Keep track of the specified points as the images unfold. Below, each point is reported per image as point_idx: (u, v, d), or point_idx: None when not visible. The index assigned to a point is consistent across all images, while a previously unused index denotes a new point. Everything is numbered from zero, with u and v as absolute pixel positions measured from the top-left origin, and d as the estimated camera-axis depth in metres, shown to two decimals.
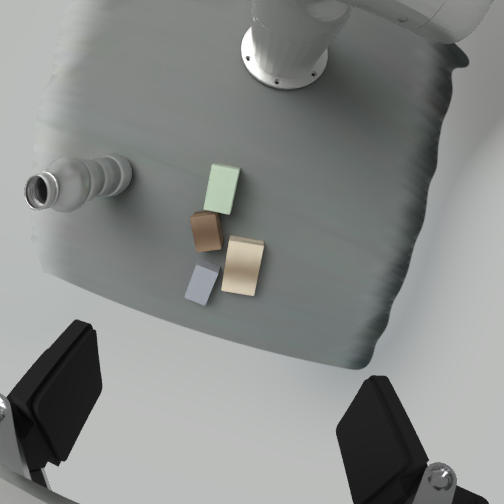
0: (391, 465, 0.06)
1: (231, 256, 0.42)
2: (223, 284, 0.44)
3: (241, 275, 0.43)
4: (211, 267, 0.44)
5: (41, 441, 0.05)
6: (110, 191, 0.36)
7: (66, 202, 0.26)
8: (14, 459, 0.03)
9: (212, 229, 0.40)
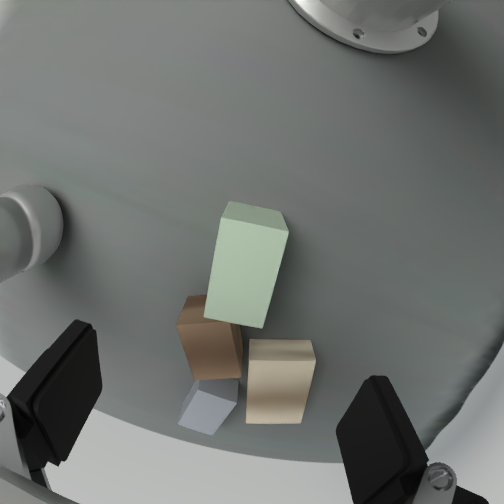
0: (391, 465, 0.06)
1: (257, 381, 0.21)
2: (248, 416, 0.23)
3: (278, 403, 0.22)
4: (224, 387, 0.23)
5: (41, 442, 0.05)
6: (16, 271, 0.15)
7: None
8: (14, 459, 0.03)
9: (224, 346, 0.19)
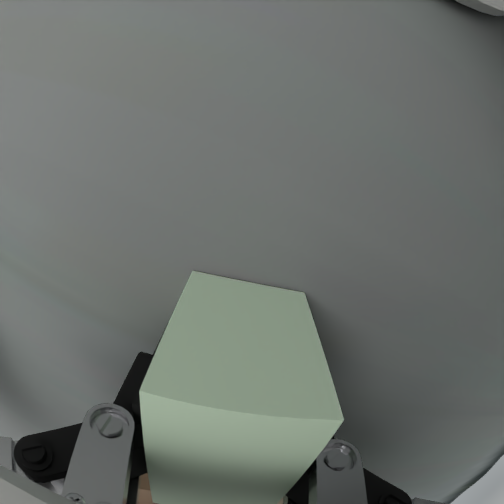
0: None
1: None
2: None
3: None
4: None
5: None
6: None
7: None
8: (117, 479, 0.04)
9: None
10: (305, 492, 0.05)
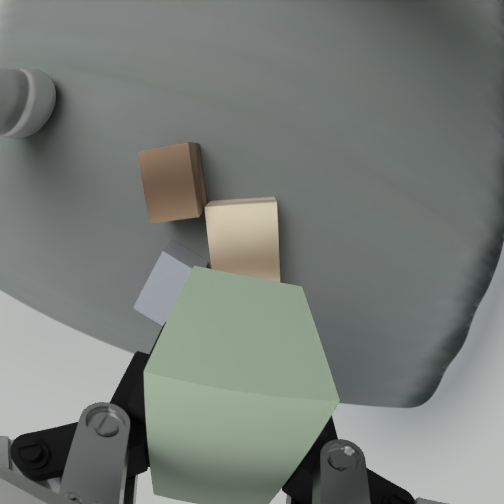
0: None
1: (217, 238, 0.21)
2: None
3: (247, 271, 0.22)
4: (192, 260, 0.23)
5: (144, 444, 0.06)
6: (7, 120, 0.14)
7: None
8: (113, 477, 0.04)
9: (182, 173, 0.18)
10: (309, 493, 0.05)
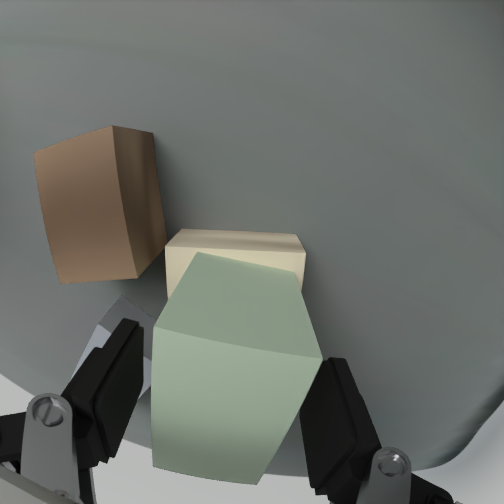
0: (340, 446, 0.06)
1: None
2: None
3: None
4: (149, 337, 0.13)
5: (94, 439, 0.06)
6: None
7: None
8: (65, 465, 0.04)
9: (102, 192, 0.08)
10: (357, 500, 0.05)
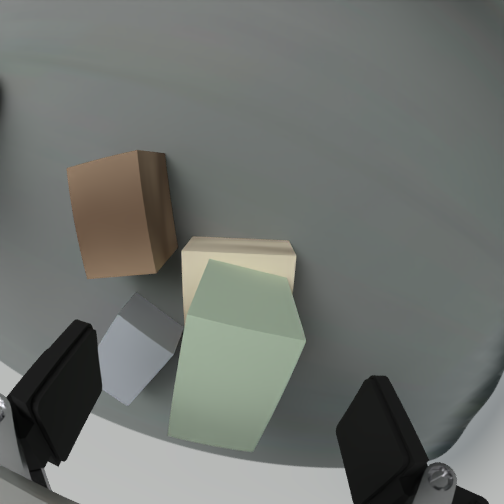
0: (391, 465, 0.06)
1: None
2: None
3: None
4: (160, 328, 0.15)
5: (41, 441, 0.05)
6: None
7: None
8: (14, 459, 0.03)
9: (128, 203, 0.11)
10: None
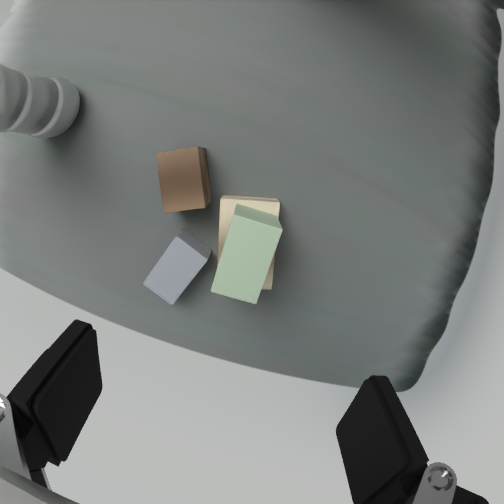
0: (391, 465, 0.06)
1: (227, 225, 0.25)
2: None
3: None
4: (199, 247, 0.27)
5: (41, 441, 0.05)
6: (40, 121, 0.18)
7: None
8: (14, 459, 0.03)
9: (192, 172, 0.22)
10: None
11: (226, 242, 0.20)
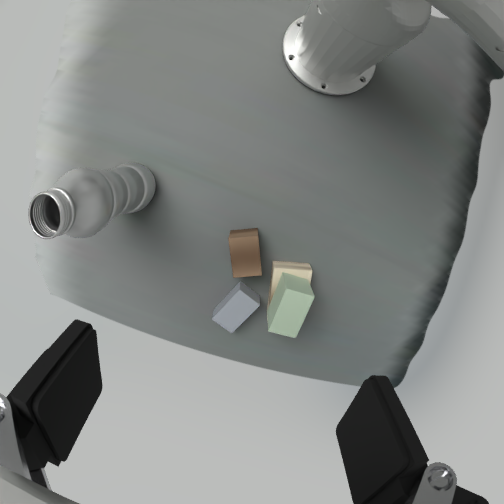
0: (391, 465, 0.06)
1: (277, 284, 0.38)
2: None
3: None
4: (253, 295, 0.40)
5: (41, 441, 0.05)
6: (132, 208, 0.31)
7: (83, 227, 0.21)
8: (14, 459, 0.03)
9: (254, 252, 0.35)
10: None
11: (280, 304, 0.33)
